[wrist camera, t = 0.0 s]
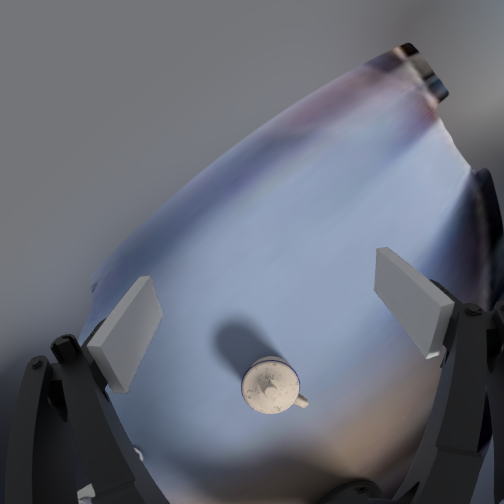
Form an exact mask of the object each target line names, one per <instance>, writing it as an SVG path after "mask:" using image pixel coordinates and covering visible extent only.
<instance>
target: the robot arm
mask: <svg viewBox="0 0 504 504" xmlns="http://www.w3.org/2000/svg"><path fill="white" fill-rule="evenodd" d="M374 291H375V292H376V294H377V295H378V296H379V297H380V299H381V300H382V301H383V302H384V304H385V305H386V306H387V307H388V309H389V310H390V311H391V313H392V314H393V315H394V316H395V318H396V319H397V320H398V322H399V323H400V324H401V326H402V327H403V328H404V330H405V331H406V332H407V334H408V335H409V336H410V338H411V339H412V340H413V342H414V343H415V344H416V346H417V347H418V349H419V350H420V351H421V353H422V354H423V356H424V357H425V358H426V359H428V358H431V357H434V356H437V355H439V353H440V351H441V348H442V345H444V346H445V347H446V349H447V350H446V353H445V356H444V358H443V361H442V364H441V366H440V368H442V371H441V376H440V380H439V385H438V389H437V393H436V396H435V400H434V404H433V407H432V411H431V414H430V417H429V420H428V423H427V426H426V429H425V432H424V435H423V438H422V441H421V443H420V446H419V449H418V451H417V454H416V456H415V458H414V461H413V463H412V465H411V468H410V470H409V472H408V474H407V476H406V478H405V480H404V482H403V484H402V485H401V487H400V488H399V490H398V491H397V493H396V494H395V496H394V497H393V499H392V500H389V499H384V495H383V492H382V491H381V489H380V488H379V486H378V485H376V484H375V483H373V482H369V481H355V482H351V483H347V484H344V485H342V486H339V487H337V488H335V489H334V490H332V491H330V492H329V493H328V494H326V495H325V496H324V497H323V498H322V499H321V501H320V502H319V504H469V503H470V501H471V498H472V495H473V492H474V488H475V485H476V482H477V479H478V475H479V471H480V467H481V463H482V455H481V454H478V453H477V446H478V441H479V436H480V430H481V424H482V417H483V410H484V401H485V389H486V387H487V392H488V398H489V404H490V411H491V419H492V429H493V441H494V501H495V504H504V301H498V302H497V303H496V305H495V308H494V311H491V312H484V310H483V309H482V308H481V307H480V306H478V305H476V304H472V303H466V304H463V303H461V302H460V301H459V300H458V299H457V298H456V297H455V296H453V295H452V294H451V293H449V291H448V290H446V289H445V288H444V287H443V286H442V285H441V284H439V283H438V282H435V281H433V280H431V279H430V280H428V279H427V278H426V277H425V276H423V275H422V274H421V273H420V272H419V271H417V270H416V269H415V268H414V267H412V266H411V265H410V264H409V263H407V262H406V261H405V260H404V259H402V258H401V257H400V256H399V255H397V254H396V253H395V252H394V251H392V250H391V249H390V248H388V247H384V248H377V249H376V270H375V284H374ZM162 317H163V313H162V310H161V307H160V304H159V301H158V297H157V294H156V291H155V287H154V284H153V281H152V277H151V276H141V277H139V278H138V279H137V281H136V282H135V283H134V284H133V285H132V287H131V288H130V289H129V290H128V292H127V293H126V294H125V295H124V297H123V298H122V299H121V301H120V302H119V303H118V304H117V306H116V307H115V308H114V310H113V311H112V312H111V313H110V315H109V316H108V317H107V318H105V319H104V320H103V321H101V322H100V323H99V324H98V325H97V326H96V327H95V329H94V331H92V333H91V334H90V336H89V337H88V338H87V339H86V341H85V342H84V343H83V345H82V346H81V347H80V346H79V344H78V342H77V340H76V338H75V336H74V335H71V334H67V335H63V336H61V337H59V338H57V339H56V340H55V341H53V343H52V344H51V350H52V352H53V354H54V355H55V357H56V359H57V361H58V362H59V363H52V364H50V363H49V361H48V359H47V358H46V357H45V356H43V355H42V356H37V357H34V358H33V359H31V361H30V362H29V363H28V365H27V367H26V370H25V373H24V376H23V380H22V384H21V387H20V391H19V394H18V399H17V403H16V407H15V411H14V416H13V421H12V427H11V433H10V438H9V446H8V453H7V464H6V479H5V504H79V502H78V495H77V487H76V480H75V468H74V453H73V433H74V437H75V440H76V443H77V446H78V450H79V453H80V456H81V458H82V461H83V464H84V467H85V469H86V472H87V475H88V477H89V480H90V482H91V485H92V487H93V489H94V492H95V497H92V498H91V503H92V504H170V503H169V502H168V500H167V499H166V498H165V496H164V495H163V493H162V492H161V490H160V489H159V488H158V486H157V485H156V483H155V482H154V480H153V479H152V477H151V476H150V474H149V472H148V471H147V469H146V468H145V466H144V464H143V463H142V461H141V459H140V458H139V456H138V454H137V453H136V451H135V449H134V447H133V445H132V444H131V442H130V440H129V438H128V436H127V434H126V432H125V430H124V428H123V426H122V424H121V422H120V420H119V418H118V416H117V414H116V412H115V410H114V407H113V405H112V403H111V401H110V398H109V396H108V394H107V392H106V391H105V387H106V386H107V384H108V385H109V387H110V388H111V390H112V391H113V392H114V393H123V394H127V392H128V390H129V388H130V385H131V383H132V381H133V379H134V376H135V374H136V372H137V370H138V368H139V365H140V363H141V361H142V359H143V357H144V354H145V352H146V350H147V348H148V346H149V344H150V342H151V339H152V337H153V335H154V333H155V331H156V329H157V327H158V325H159V323H160V321H161V319H162Z"/></svg>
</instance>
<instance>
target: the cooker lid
mask: <svg viewBox="0 0 504 504" xmlns="http://www.w3.org/2000/svg"><path fill="white" fill-rule="evenodd" d="M78 502H79V504H92V503H91V499H84V498H83V499H78Z"/></svg>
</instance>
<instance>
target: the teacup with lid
mask: <svg viewBox="0 0 504 504" xmlns="http://www.w3.org/2000/svg"><path fill="white" fill-rule="evenodd" d="M241 391H242V395H243V398H244V400H245V401H246V403H247V404H248V405H249V406H250V407H251V408H253V409H254V410H256V411H258V412H261V413H265V414H275V413H279V412H282V411H284V410H286V409H288V408H289V407H290V406H292V404H293V403H294V404H296V405H298V406H300V407H307V405H308V404H309V402H308V400H307V399H306V398H305V397H304V396H302V395H301V394H299V391H300V381H299V378H298V376H297V374H296V372H295V371H294V370H293V369H292V367H291V366H290V364H289V363H288V362H287V361H285V360H284V359H282V358H280V357H276V356H266V357H263V358H260V359H258V360H257V361H256V362H254V363H253V364H252V366H251V367H250V368H249V369H248V371H247V372H246V373H245V375H244V377H243V379H242V384H241Z"/></svg>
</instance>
